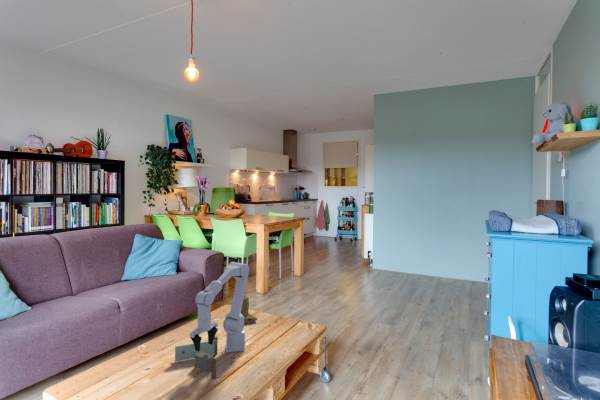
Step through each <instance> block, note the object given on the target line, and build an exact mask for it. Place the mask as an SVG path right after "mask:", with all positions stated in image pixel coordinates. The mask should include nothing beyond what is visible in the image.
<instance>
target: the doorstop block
mask: <svg viewBox="0 0 600 400" xmlns="http://www.w3.org/2000/svg"><path fill="white" fill-rule="evenodd" d="M214 356H215V355H210V354H207V353H205V352H203V351H201V352H199V353H197V354H195V358H194V368H195V369H197V368H198V369H197V370H199V369H200V371H202V372H205V373H209V372H211V359H215V358H214Z"/></svg>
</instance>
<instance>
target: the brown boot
mask: <svg viewBox="0 0 600 400" xmlns="http://www.w3.org/2000/svg"><path fill="white" fill-rule="evenodd" d="M249 308H250V300H249V297H248V296H247V295H245V294H244V298H243V304H242V309H241V314H242V315H243V316H244V324H252V323H254V322H256V321H257V320H258V317H256V316H254V315H253V314H251V313H249Z"/></svg>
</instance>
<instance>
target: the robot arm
mask: <svg viewBox="0 0 600 400" xmlns="http://www.w3.org/2000/svg"><path fill="white" fill-rule="evenodd" d="M249 272H250V267H249V265H248V264H247V263H241V262H235V261H231V262H229V263H228V264H227V265H226V269H225V271H223V273H222V274H221V275H220V276H219V277H218V279H217V280H212V281H211V282H210V283H209V285H208V286H206V287H205V288H204V290H202V291H201V290H200V291H199V292H198V293H196V295H195V298H194V302H195V304H196V307H197V326H196V328H195V329H194V330H193V331H190V332H189V337H190V339H191V341H192V343H194V346H195V350H196V351H200V342H202V338H203V337H201V336H200V334H203V333H205V332H207V341H208V343H209V344H211V345H212V344H213V341H214V337H215V336H216V335H217V332H218V331H219V330H218V328H217V327H218V325H219V323H218V321H214V322H211V321H212V315H211V314H212V312H211V311H212V304H213V303H214V300H215V298H216V296H217V295H218V294H219V293H220V292H221V291H222V290H223V285H225V283H227V282H228V281H229V280H230V279H231V278H232V277H233V278H234V279H235V286H234V291H233V297H232V301H231V308H230V310H229V312H228V313H227V314H225V318H224V319H223V324H222V327H223V329H225V330H224V331H225V333H226V340H225V342H226V344H225V353H235V352H245V349H246V348H245V347H246V337H245V336H246V335H245V334H246V332H245V330H244V329H245V323H244V316H243V315H242V314H241V309H242V304H243V298H244V295H245V293H246V287H247V282H248V279H249Z"/></svg>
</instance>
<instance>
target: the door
mask: <svg viewBox="0 0 600 400" xmlns="http://www.w3.org/2000/svg"><path fill="white" fill-rule="evenodd" d="M216 343H217V344H218V341H217V340H214V341H213V344H212V345H211V344H209V343H208V340H204V341H201V342H200V351H196V350H195V346H194V343H193V342H192V343H186V344H179V345H175V346H174V362H180V361H181V362H182V361H186V360H193V359H195V354H197V353H199V352H201V351H203V352H205V353H207V354H210V355H212V356H215V355H217V354H216Z"/></svg>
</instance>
